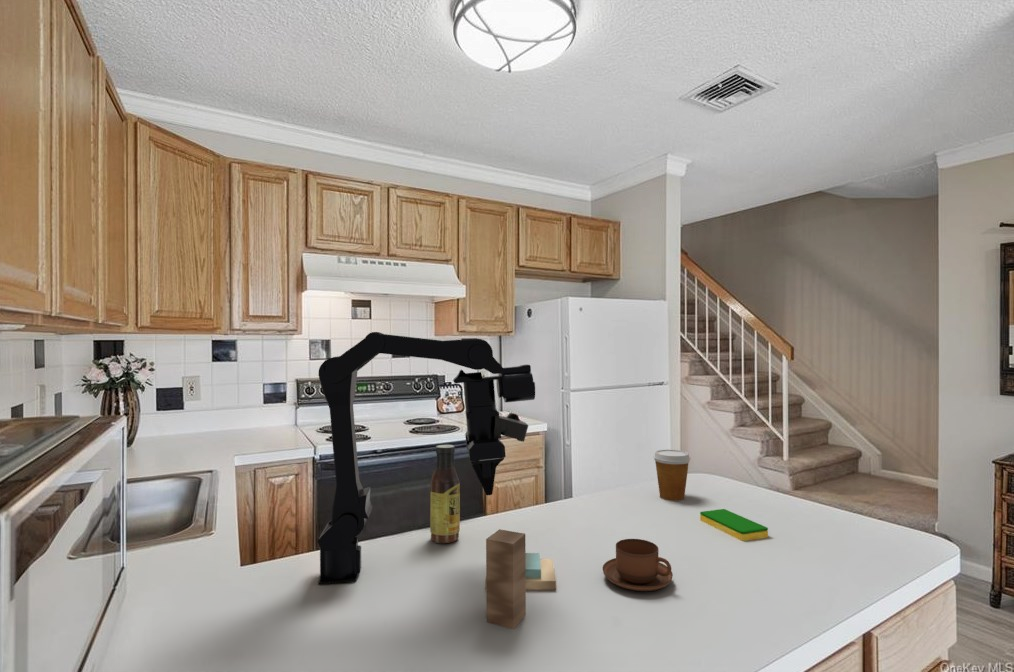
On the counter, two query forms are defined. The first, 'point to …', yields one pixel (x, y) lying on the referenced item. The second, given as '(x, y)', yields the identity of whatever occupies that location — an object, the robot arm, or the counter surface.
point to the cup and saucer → (638, 566)
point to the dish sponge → (734, 524)
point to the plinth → (545, 577)
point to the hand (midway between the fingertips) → (487, 488)
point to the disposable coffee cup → (672, 473)
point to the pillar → (505, 578)
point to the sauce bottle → (445, 498)
